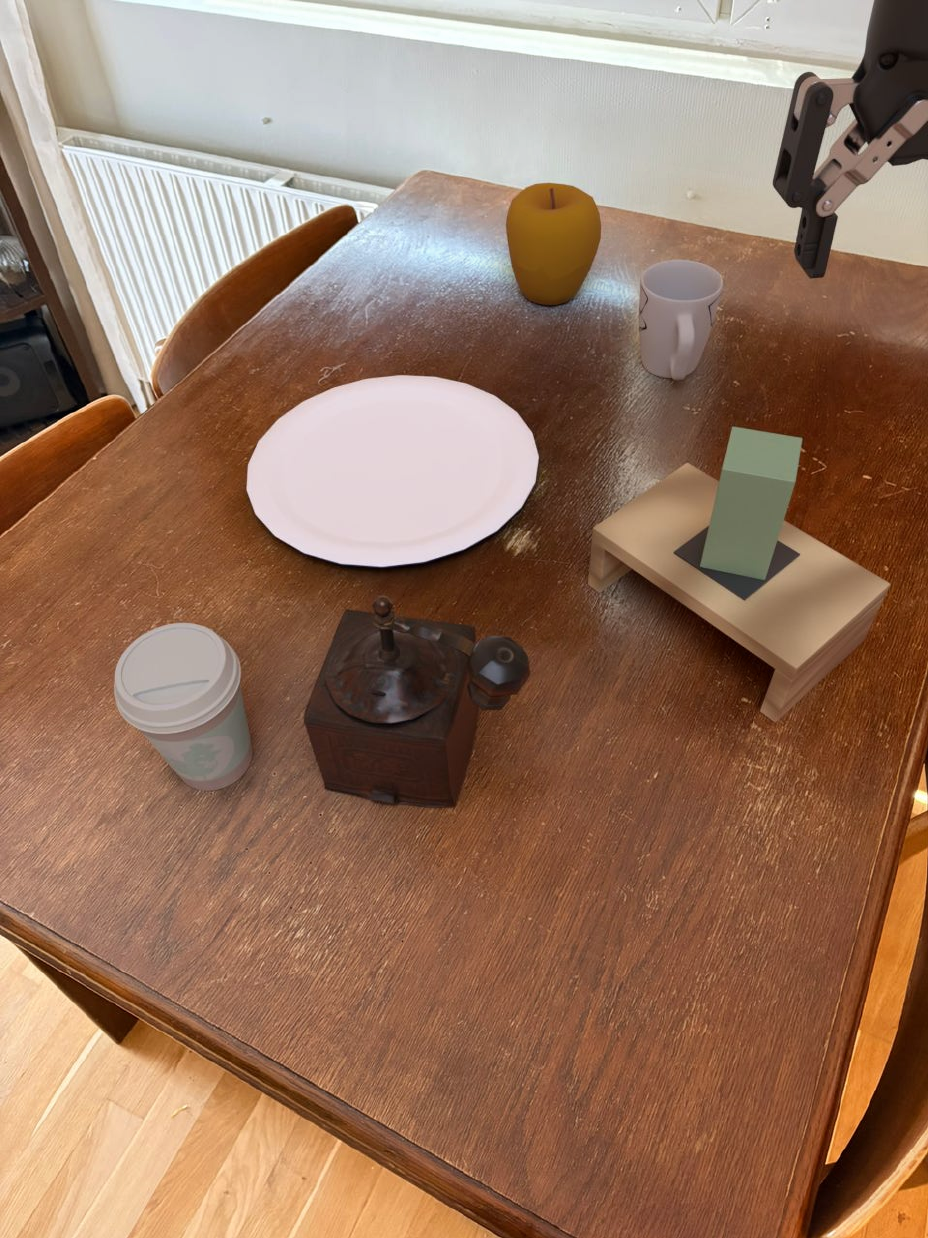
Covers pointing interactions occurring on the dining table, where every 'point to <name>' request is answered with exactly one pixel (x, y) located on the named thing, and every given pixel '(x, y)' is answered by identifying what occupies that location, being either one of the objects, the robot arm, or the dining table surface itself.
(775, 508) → the green carton
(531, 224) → the apple
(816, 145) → the robot arm
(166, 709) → the coffee cup
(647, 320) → the mug
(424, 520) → the plate
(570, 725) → the dining table surface
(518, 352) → the dining table surface
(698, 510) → the shelf
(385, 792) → the coffee grinder
